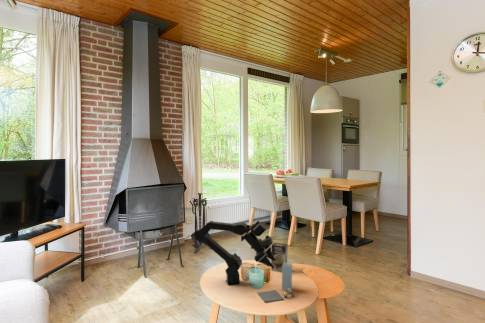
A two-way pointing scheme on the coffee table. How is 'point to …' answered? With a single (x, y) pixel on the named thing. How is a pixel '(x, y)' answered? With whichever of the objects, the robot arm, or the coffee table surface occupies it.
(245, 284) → the coffee table surface
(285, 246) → the coffee box
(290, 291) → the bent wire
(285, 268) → the slate block
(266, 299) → the rubber mat
